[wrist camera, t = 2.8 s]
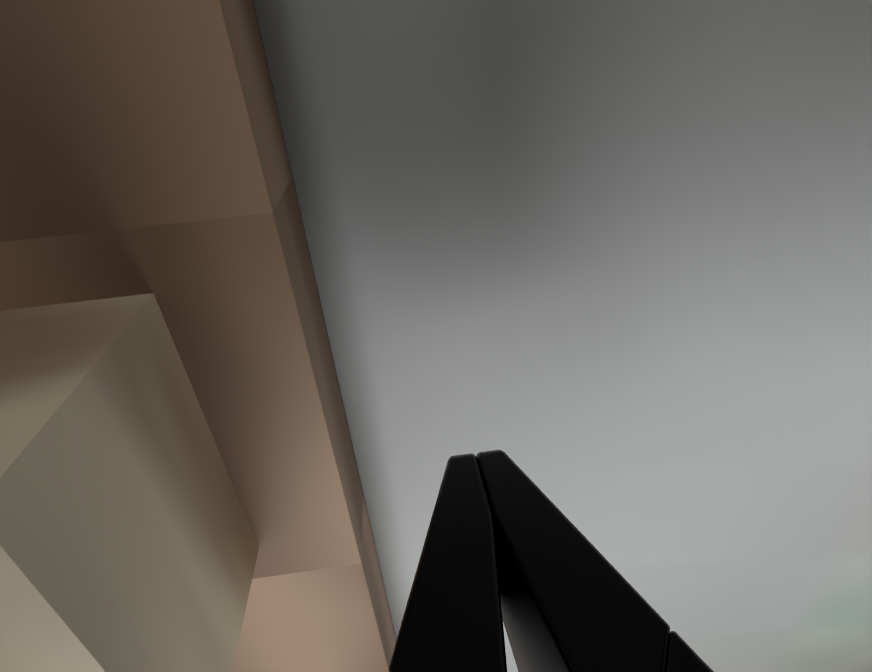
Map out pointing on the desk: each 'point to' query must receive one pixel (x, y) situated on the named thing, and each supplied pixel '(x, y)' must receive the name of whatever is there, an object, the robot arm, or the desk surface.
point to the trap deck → (198, 279)
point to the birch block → (112, 499)
